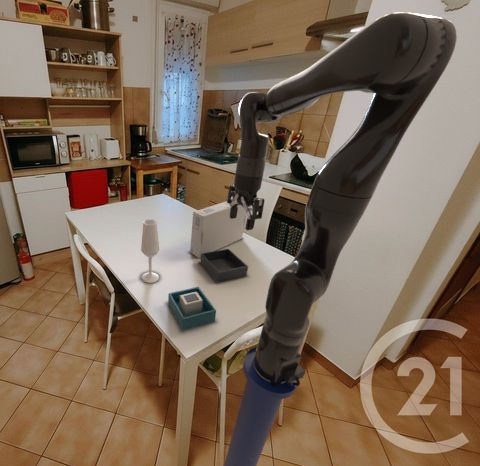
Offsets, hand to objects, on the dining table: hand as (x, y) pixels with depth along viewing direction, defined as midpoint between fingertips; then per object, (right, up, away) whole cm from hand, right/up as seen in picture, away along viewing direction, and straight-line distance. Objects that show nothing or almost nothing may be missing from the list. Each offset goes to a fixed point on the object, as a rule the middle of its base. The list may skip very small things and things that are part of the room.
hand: (240, 223), depth 82 cm
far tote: (+1, -18, +27) cm, 32 cm away
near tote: (-15, -29, +5) cm, 33 cm away
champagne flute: (-29, -20, +21) cm, 41 cm away
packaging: (+2, -9, +44) cm, 45 cm away
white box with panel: (-15, -29, +5) cm, 33 cm away
